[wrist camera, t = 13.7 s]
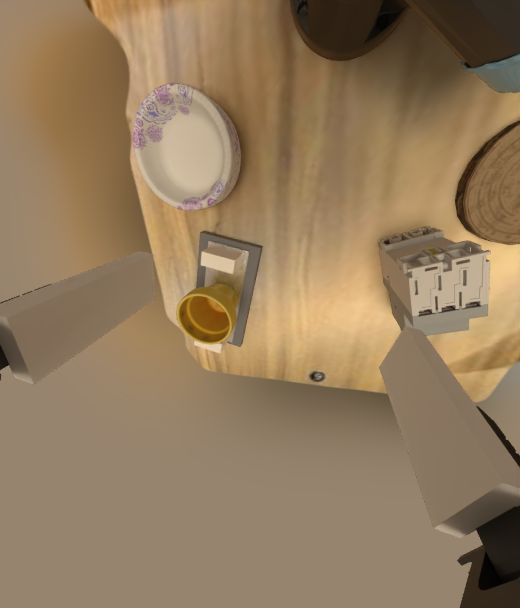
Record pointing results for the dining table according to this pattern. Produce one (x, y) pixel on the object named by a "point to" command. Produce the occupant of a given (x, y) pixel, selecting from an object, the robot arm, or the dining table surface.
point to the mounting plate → (248, 281)
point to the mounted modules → (223, 262)
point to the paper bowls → (186, 147)
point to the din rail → (229, 277)
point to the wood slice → (493, 189)
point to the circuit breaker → (435, 280)
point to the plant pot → (208, 313)
